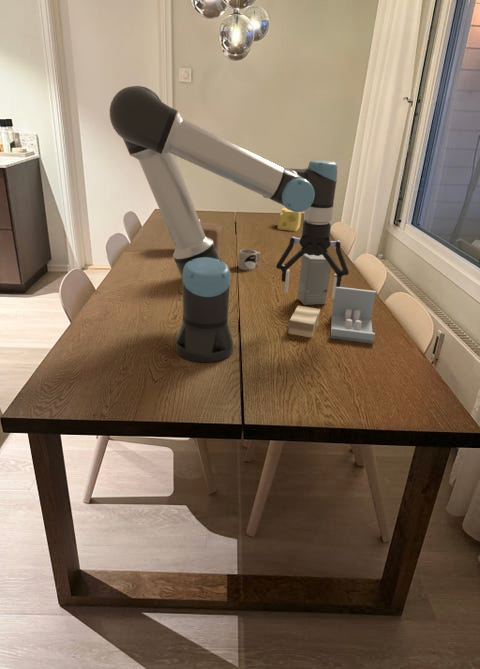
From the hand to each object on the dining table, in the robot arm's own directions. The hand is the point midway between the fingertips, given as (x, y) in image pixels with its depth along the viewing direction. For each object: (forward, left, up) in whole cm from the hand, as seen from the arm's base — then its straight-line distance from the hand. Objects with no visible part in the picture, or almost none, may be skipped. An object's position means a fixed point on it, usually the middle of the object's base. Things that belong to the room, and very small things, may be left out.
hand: (309, 294), depth 141 cm
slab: (0, 0, -11) cm, 11 cm away
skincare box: (+22, -1, -11) cm, 24 cm away
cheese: (+122, +16, -11) cm, 123 cm away
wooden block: (+30, +38, -11) cm, 50 cm away
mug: (+51, +25, -11) cm, 58 cm away
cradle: (+3, -14, -11) cm, 17 cm away
